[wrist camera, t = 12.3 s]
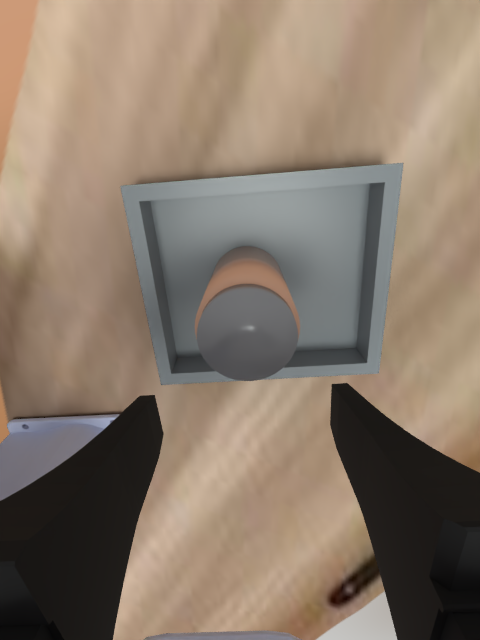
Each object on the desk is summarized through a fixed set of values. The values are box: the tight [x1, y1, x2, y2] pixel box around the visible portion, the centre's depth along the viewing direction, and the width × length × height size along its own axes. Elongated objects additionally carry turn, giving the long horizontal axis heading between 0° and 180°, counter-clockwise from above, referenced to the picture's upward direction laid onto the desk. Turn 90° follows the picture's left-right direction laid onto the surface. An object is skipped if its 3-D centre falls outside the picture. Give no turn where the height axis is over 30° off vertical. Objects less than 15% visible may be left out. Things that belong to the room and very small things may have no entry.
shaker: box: [195, 246, 300, 381], centre depth 16 cm, size 4×4×8 cm
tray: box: [120, 163, 403, 385], centre depth 19 cm, size 14×12×2 cm
